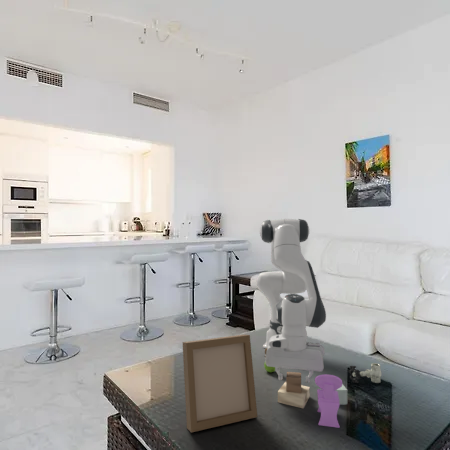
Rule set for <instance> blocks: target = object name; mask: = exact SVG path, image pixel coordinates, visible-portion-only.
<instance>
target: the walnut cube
mask: <svg viewBox="0 0 450 450" xmlns="http://www.w3.org/2000/svg"><path fill="white" fill-rule="evenodd" d="M285 378H286V380H285V382H286V392H294V393H301V385H302V372H296V371H286V377H285Z"/></svg>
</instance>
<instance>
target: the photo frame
mask: <svg viewBox="0 0 450 450" xmlns="http://www.w3.org/2000/svg"><path fill="white" fill-rule="evenodd" d="M251 344H252V343H251V336H250V334H239V335H228V336H221V337H214V338H213V337H212V338H205V339H197V340H188V341H182V356H183V357H182V359H183V376H184V377H183V378H184V397H185V416H186V417H185V418H186V429H187V430H188V431H189V432H190V433H191V434H192V433H194V432H199V431H203V430H207V429H211V428H212V429H213V428H216V427H220V426H225V425H229V424H233V423H238V422H241V421H242V422H243V421H246V420H250V419H254V418H258V410H257V409H258V407H257V397H256V385H255V376H254V365H253V356H252V355H253V354H252V346H251Z"/></svg>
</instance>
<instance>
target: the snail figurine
mask: <svg viewBox="0 0 450 450" xmlns="http://www.w3.org/2000/svg"><path fill="white" fill-rule="evenodd" d="M267 348H268V347H267ZM267 348H264V358H266V352H267ZM263 368H264V369H265V370H266V372H267V373H273V372H276V371H275V367H269V366H267V365H266V364H265V362H264V363H263Z"/></svg>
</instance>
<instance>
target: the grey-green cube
mask: <svg viewBox="0 0 450 450" xmlns="http://www.w3.org/2000/svg"><path fill="white" fill-rule="evenodd" d="M335 391H338V396H339V404H340V405H348V389H347V388H346V386H345V385H344V384H343V383H342V386H341V387H340V388H339V389H337V390H335Z"/></svg>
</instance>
